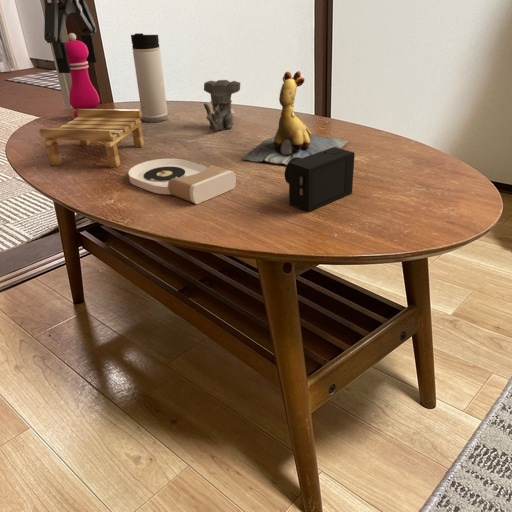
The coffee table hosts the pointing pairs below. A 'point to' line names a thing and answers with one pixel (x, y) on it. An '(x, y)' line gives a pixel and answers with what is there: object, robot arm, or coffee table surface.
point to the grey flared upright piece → (220, 103)
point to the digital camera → (320, 178)
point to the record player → (182, 179)
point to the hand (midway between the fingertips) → (79, 67)
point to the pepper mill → (80, 77)
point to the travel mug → (149, 77)
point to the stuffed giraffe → (291, 131)
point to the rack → (96, 132)
